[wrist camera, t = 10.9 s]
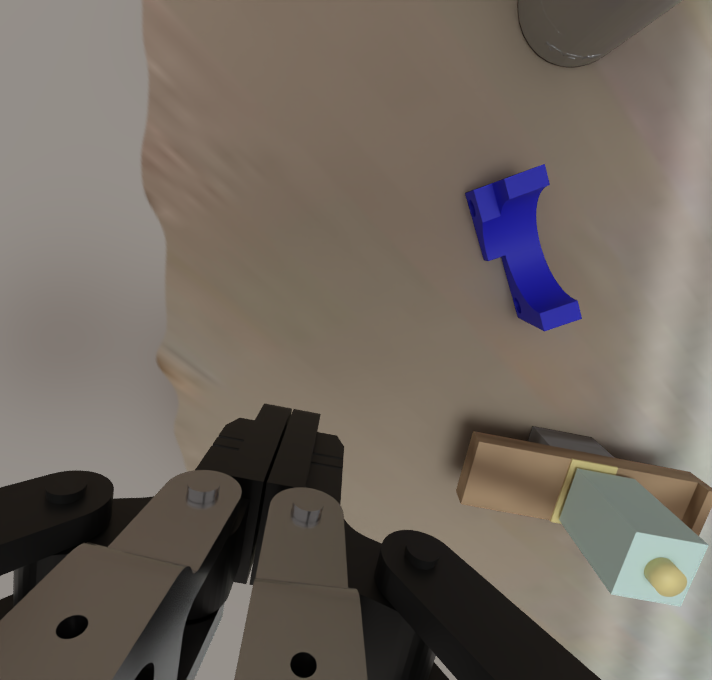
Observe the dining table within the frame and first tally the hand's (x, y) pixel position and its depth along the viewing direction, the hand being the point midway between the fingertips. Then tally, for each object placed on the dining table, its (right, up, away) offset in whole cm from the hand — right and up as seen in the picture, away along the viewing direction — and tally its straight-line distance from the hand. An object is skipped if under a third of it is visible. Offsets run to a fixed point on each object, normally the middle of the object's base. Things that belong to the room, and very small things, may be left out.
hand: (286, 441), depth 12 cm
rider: (+22, -11, +26) cm, 36 cm away
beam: (+21, -9, +32) cm, 40 cm away
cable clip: (+15, +11, +28) cm, 33 cm away
